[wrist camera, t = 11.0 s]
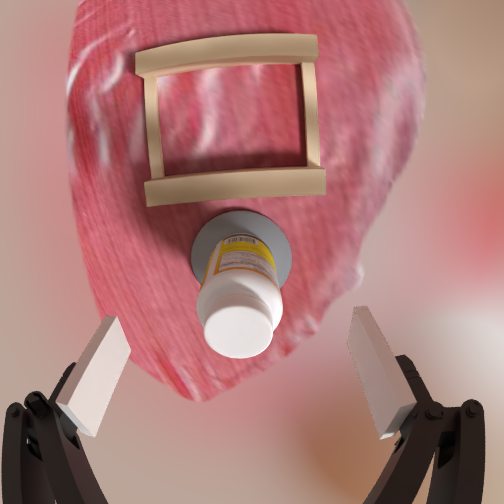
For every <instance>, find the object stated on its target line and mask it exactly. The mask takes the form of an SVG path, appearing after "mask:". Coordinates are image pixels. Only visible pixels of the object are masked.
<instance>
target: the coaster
mask: <svg viewBox="0 0 504 504" xmlns="http://www.w3.org/2000/svg"><path fill="white" fill-rule="evenodd" d="M238 233H246V234H251V235H254V236H256V237H258V238H260V239H261V240H262V241H264V242H265V243H266V244H267V246H268V247H269V249H270V250H271V253H272V255H273V259H274V264H275V269H276V274H277V279H278V284H279V289H280V288H281V286H282V285H283V284H284V282H285V281H286V279H287V277H288V275H289V272H290V269H291V262H292V255H291V249H290V245H289V242H288V240H287V238H286V236H285V234H284V232H283V231H282V230H281V228H280V227H279V226H278V225H277V224H276V223H275V222H274V221H272V220H271V219H269V218H268V217H266V216H264V215H262V214H259V213H256V212H253V211H246V210H235V211H229V212H225V213H222V214H220V215H218V216H216V217H214V218H212V219H211V220H210V221H208V222H207V223H206V224H205V225H204V226H203V227H202V229H201V230H200V231H199V233H198V234H197V236H196V238H195V240H194V243H193V246H192V251H191V264H192V268H193V272H194V274H195V276H196V278H197V280H198V282H199V283H200V284H201V285H202V281H203V278H204V275H205V272H206V269H207V266H208V263H209V259H210V256H211V253H212V251H213V249H214V247H215V246H216V245H217V244H218V243H219V242H220V241H221V240H222V239H224V238H225V237H227V236H229V235H232V234H238Z"/></svg>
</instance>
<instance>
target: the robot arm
mask: <svg viewBox="0 0 504 504" xmlns="http://www.w3.org/2000/svg"><path fill="white" fill-rule="evenodd" d="M347 346H348V349H349V351H350V354H351V356H352V359H353V362H354V365H355V368H356V370H357V373H358V376H359V379H360V381H361V384H362V387H363V390H364V393H365V395H366V398H367V401H368V404H369V407H370V410H371V413H372V416H373V419H374V422H375V426H376V429H377V432H378V435H379V438H380V439H383V438H386V437H390V436H393V435H395V434H396V433H397V431H398V430H400V433H401V437H400V438H399V440H398V441H397V442H396V443H395V445H396V447H395V449H394V451H393V453H392V455H391V457H390V459H389V461H388V462H387V464H386V466H385V468H384V470H383V472H382V473H381V475H380V477H379V479H378V480H377V482H376V484H375V485H374V487H373V489H372V490H371V492H370V493H369V495H368V497H367V498H366V500H365V501H364V503H363V504H412V502H413V500H414V498H415V497H416V495H417V492H418V490H419V488H420V486H421V484H422V482H423V479H424V477H425V475H426V473H427V470H428V468H429V465H430V463H431V460H432V458H433V455H434V452H435V457H434V464H433V471H432V477H431V483H430V488H429V493H428V498H427V503H426V504H481V502H482V493H483V485H484V472H485V421H484V410H483V406H482V405H481V404H480V403H479V402H478V401H476V400H473V399H470V400H467V401H465V402H464V403H463V404H462V406H461V407H448V408H447V407H443V406H442V405H441V404H440V403H438V402H434V401H433V400H432V398H431V396H430V394H429V392H428V390H427V389H426V386H425V384H424V382H423V380H422V379H421V377H420V375H419V373H418V371H416V368H415V366H414V364H413V362H412V361H411V360H410V359H409V358H408V357H407V356H405V355H400V356H394V354H393V353H392V351H391V349H390V347H389V345H388V343H387V341H386V339H385V337H384V336H383V334H382V332H381V330H380V328H379V326H378V325H377V323H376V321H375V319H374V318H373V316H372V314H371V312H370V310H369V309H368V307H367V306H360V307H354V309H353V315H352V321H351V326H350V331H349V337H348V341H347ZM130 352H131V349H130V347H129V344H128V342H127V340H126V337H125V335H124V332H123V330H122V327H121V325H120V322H119V320H118V317H117V316H106V317H105V318H104V320H103V321H102V323H101V325H100V326H99V328H98V329H97V331H96V332H95V334H94V335H93V337H92V339H91V340H90V342H89V343H88V345H87V347H86V348H85V350H84V352H83V353H82V355H81V357H80V358H79V360H78V362H77V363H75V362H73V363H72V364H71V365H70V366H68V367H67V369H66V370H65V372H64V373H63V377H61V379H60V380H59V382H58V384H57V386H56V387H55V389H54V391H53V393H52V395H51V396H50V398H49V400H47V399H46V397H45V396H44V395H43V394H42V393H41V392H39V391H34V392H32V393H30V394H28V396H27V397H26V398H25V401H24V405H25V407H26V408H27V409H25V408H24V407H23V406H22V405H21V404H20V403H17V402H15V403H13V404H11V405H10V406H9V407H8V409H7V411H6V417H5V425H4V434H3V446H2V499H3V504H55V500H56V503H57V504H108V502H107V500H106V499H105V497H104V494H103V493H102V491H101V489H100V487H99V484H98V482H97V480H96V478H95V476H94V474H93V471H92V469H91V467H90V464H89V462H88V460H87V457H86V455H85V452H84V450H83V447H82V444H81V441H80V439H79V436H78V434H77V433H76V431H77V428H78V429H79V430H80V431H81V432H82V433H83V434H85V435H89V436H92V437H95V436H96V434H97V431H98V429H99V426H100V423H101V421H102V418H103V416H104V413H105V410H106V407H107V406H108V403H109V400H110V398H111V396H112V393H113V391H114V389H115V386H116V384H117V382H118V379H119V377H120V375H121V372H122V370H123V368H124V366H125V363H126V361H127V359H128V357H129V355H130ZM27 439H28V444H27Z"/></svg>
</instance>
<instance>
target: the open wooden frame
mask: <svg viewBox="0 0 504 504" xmlns="http://www.w3.org/2000/svg"><path fill="white" fill-rule="evenodd" d="M318 57H319V51H318V42H317V35H309V34H245V35H231V36H221V37H212V38H205V39H198V40H191V41H186V42H180V43H175V44H170V45H165V46H161V47H156V48H152V49H148V50H144V51H141V52H137V53H135V73H136V75H138V76H140V77H142V78H144V90H145V111H146V126H147V138H148V149H149V159H150V168H151V177H152V179H150V180H148V181H146V182H144V189H145V196H146V203H147V207H150V206H159V205H169V204H179V203H190V202H201V201H213V200H226V199H241V198H258V197H278V196H304V195H326V169H324V168H322V167H320V148H319V125H318V107H317V93H316V80H315V69H314V62H315V61H316V60H317V59H318ZM260 64H301V74H302V86H303V100H304V116H305V135H306V160H307V166H297V167H268V168H249V169H234V170H221V171H210V172H200V173H190V174H181V175H173V176H165V174H164V165H163V155H162V145H161V133H160V120H159V104H158V81H157V77H162V76H167V75H172V74H177V73H183V72H189V71H195V70H202V69H210V68H219V67H229V66H241V65H260Z"/></svg>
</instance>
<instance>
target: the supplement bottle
mask: <svg viewBox="0 0 504 504" xmlns="http://www.w3.org/2000/svg"><path fill="white" fill-rule="evenodd" d="M196 309H197V315H198V318H199V320H200V322H201V324H202V326H203V327H204V336H205V339H206V341H207V343H208V344H209V346H210V347H211V348H212V349H213V350H215V351H216V352H218V353H219V354H221V355H224V356H226V357H230V358H248V357H252V356H255V355H257V354H259V353H261V352H262V351H264V350H265V349H266V348H267V347H268V345H269V344H270V342H271V340H272V336H273V331H274V329H275V328H276V327H277V325H278V324H279V322H280V319H281V316H282V309H283V306H282V299H281V294H280V289H279V284H278V279H277V274H276V269H275V264H274V259H273V255H272V253H271V250H270V249H269V247H268V246H267V244H266V243H265V242H264V241H262V240H261V239H260V238H258V237H256V236H254V235H251V234H246V233H238V234H232V235H229V236H227V237H225V238H224V239H222V240H221V241H220V242H219V243H218V244H217V245H216V246H215V247H214V249H213V251H212V253H211V256H210V259H209V263H208V266H207V269H206V272H205V275H204V278H203V281H202V285H201V288H200V291H199V294H198V298H197V305H196Z"/></svg>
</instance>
